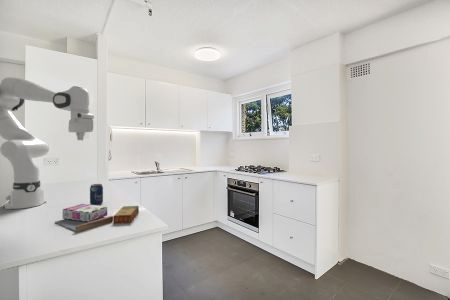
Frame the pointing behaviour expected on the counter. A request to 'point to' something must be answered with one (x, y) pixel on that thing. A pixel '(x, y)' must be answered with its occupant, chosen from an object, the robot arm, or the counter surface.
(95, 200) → the soda can
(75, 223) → the mat
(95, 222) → the stop rail
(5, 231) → the counter surface
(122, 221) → the carton
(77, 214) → the candy bar box
